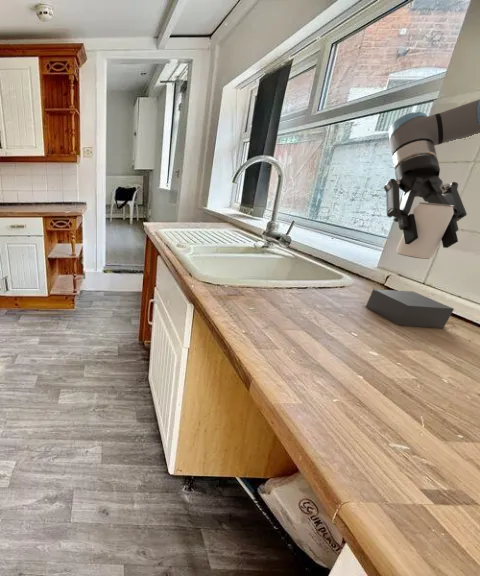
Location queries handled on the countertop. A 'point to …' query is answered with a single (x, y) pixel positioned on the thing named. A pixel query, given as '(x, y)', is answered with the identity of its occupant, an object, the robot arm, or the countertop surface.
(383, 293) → the grey block
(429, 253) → the can
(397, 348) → the countertop surface
